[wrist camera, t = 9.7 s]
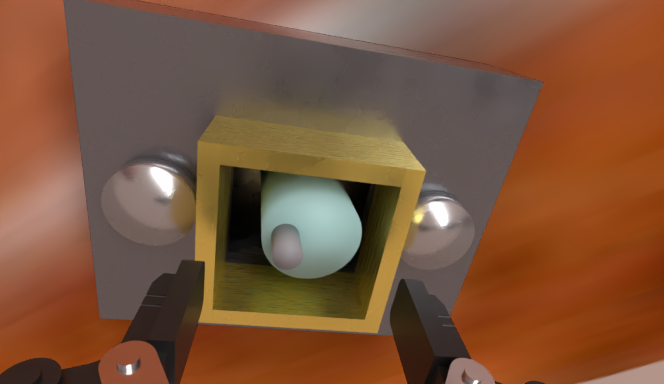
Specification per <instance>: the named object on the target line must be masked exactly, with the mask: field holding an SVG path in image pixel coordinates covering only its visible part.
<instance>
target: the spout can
mask: <svg viewBox="0 0 664 384" xmlns="http://www.w3.org/2000/svg"><path fill="white" fill-rule="evenodd" d="M260 173H261V241H262V247H263V251H264V253H265V255H266V257H267V259H268V260H269V262H270V263H271V264H272V265H273V266H274V267H275V268H276V269H278V270H279V271H281V272H282V273H284V274H287V275H289V276H292V277H296V278H304V279H312V278H319V277H323V276H326V275H329V274H332V273H334V272H336V271H337V270H339V269H341V268H342V267H343V266H345V265H346V264H347V263H348V262H349V261H350V260H351V259H352V257H353V256H354V255H355V253H356V251H357V249H358V247H359V245H360V241H361V236H362V227H361V222H360V218H359V216H358V214H357V212H356V210H355V208H354V206H353V204H352V202H351V200H350V198H349V196H348V194H347V192H346V190H345V188H344V186H343V184H342V182H341V180H339V179H331V178H323V177H315V176H307V175H299V174H291V173H283V172H275V171H266V170H260Z"/></svg>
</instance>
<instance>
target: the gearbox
mask: <svg viewBox="0 0 664 384" xmlns="http://www.w3.org/2000/svg"><path fill="white" fill-rule="evenodd" d="M63 1H64V10H65V18H66V27H67V36H68V44H69V53H70V62H71V71H72V79H73V88H74V97H75V106H76V114H77V123H78V132H79V140H80V149H81V158H82V167H83V175H84V184H85V193H86V202H87V210H88V219H89V228H90V236H91V245H92V254H93V263H94V271H95V280H96V289H97V298H98V306H99V315H100V318H104V319H121V320H133V319H134V317H135V315H136V313H137V311H138V309H139V307H140V306H141V303H142V301H143V299H144V298H145V296H146V294H147V292H148V290H149V288H150V286H151V284H152V282H153V281H155V280H156V279H157V278H158V277H159V276H161V275H162V274H163V273H171V274H176V272H177V270H178V267H179V265H180V263H181V261H182V260H183V259H184V260H195V261H204V262H205V280H204V300H203V306H202V311H201V315H200V318H199V322H198V324H204V325H220V326H237V327H253V328H270V329H287V330H303V331H320V332H336V333H353V334H369V335H386V336H393V333H392V329H391V326H390V311H391V307H392V304H393V300H394V297H395V294H396V291H397V288H398V284H399V282H400V280H401V279H413V280H421V281H422V282H423V283H424V285H425V287H426V290H427V292H428V294H429V295H435V296H436V297H437V298H438V299H439V300H440V301H441V302H442V303H443V304H444V305H445V307H446V309H447V311H448V313H449V315H451V312H452V310H453V307H454V305H455V302H456V300H457V297H458V295H459V292H460V290H461V287H462V285H463V282H464V280H465V277H466V275H467V272H468V270H469V267H470V265H471V262H472V260H473V257H474V255H475V252H476V250H477V247H478V245H479V242H480V240H481V237H482V235H483V232H484V230H485V227H486V225H487V222H488V219H489V217H490V214H491V212H492V209H493V207H494V204H495V202H496V199H497V197H498V194H499V192H500V189H501V187H502V184H503V182H504V179H505V177H506V174H507V172H508V169H509V167H510V164H511V162H512V159H513V157H514V154H515V152H516V149H517V147H518V144H519V142H520V139H521V137H522V134H523V132H524V129H525V127H526V124H527V122H528V119H529V117H530V114H531V112H532V109H533V107H534V104H535V102H536V99H537V97H538V94H539V92H540V89H541V87H542V84H543V82H542V81H539V80H536V79H532V78H529V77H526V76H523V75H520V74H516V73H513V72H510V71H507V70H504V69H501V68H497V67H494V66H491V65H488V64H485V63H479V62H474V61H468V60H463V59H457V58H452V57H446V56H441V55H435V54H430V53H424V52H419V51H413V50H408V49H402V48H397V47H391V46H386V45H380V44H375V43H369V42H364V41H358V40H353V39H347V38H342V37H336V36H331V35H325V34H320V33H314V32H309V31H303V30H298V29H292V28H287V27H281V26H276V25H270V24H265V23H259V22H254V21H248V20H243V19H237V18H232V17H226V16H221V15H215V14H210V13H204V12H198V11H193V10H187V9H182V8H176V7H171V6H165V5H160V4H154V3H149V2H143V1H138V0H63ZM260 170H266V171H275V172H283V173H291V174H299V175H307V176H315V177H323V178H331V179H339V180H341V182H342V184H343V186H344V188H345V190H346V192H347V194H348V196H349V198H350V200H351V202H352V204H353V206H354V208H355V210H356V212H357V214H358V216H359V218H360V222H361V227H362V236H361V241H360V245H359V247H358V249H357V251H356V253H355V255H354V256H353V257H352V259H351V260H350V261H349V262H348V263H347V264H346V265H345V266H343V267H342V268H341V269H339V270H337V271H336V272H334V273H332V274H329V275H326V276H323V277H319V278H312V279H304V278H296V277H292V276H289V275H287V274H284V273H282V272H281V271H279V270H278V269H276V268H275V267H274V266H273V265H272V264H271V263H270V262H269V260H268V259H267V257H266V255H265V253H264V251H263V247H262V241H261V173H260Z"/></svg>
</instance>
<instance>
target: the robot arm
mask: <svg viewBox="0 0 664 384" xmlns="http://www.w3.org/2000/svg"><path fill="white" fill-rule="evenodd" d="M204 280H205V262H204V261H195V260H184V259H183V260H182V261H181V263H180V265H179V267H178V270H177V272H176V274H171V273H163V274H162V275H161V276H159V277H158V278H157V279H156V280H155V281H153V282H152V284H151V286H150V288H149V290H148V292H147V294H146V296H145V298H144V299H143V301H142V303H141V306H140V307H139V309H138V311H137V313H136V315H135V317H134V319H133V321H132V323H131V325H130V327H129V329H128V331H127V333H126V335H125V337H124V339H123V341H122V342H121V344H119V345H117V346H115V347H113V348H112V349H110V350H109V351H108V352H107V353H106V354H105V355H104V356H103V357H102V359H101V360H99V361H96V362H93V363H90V364H86V365H81V366H77V367H72V368H67V369H62V370H61V367H60V365H59V364H58V363H57V362H56V361H54V360H52V359H48V358H35V359H30V360H26V361H23V362H20V363H18V364H16V365H14V366H12V367H10V368H9V369H7V370H6V371H4V372H3V373H2V374H1V375H0V384H180V381H181V378H182V374H183V371H184V368H185V365H186V361H187V358H188V355H189V351H190V348H191V345H192V341H193V338H194V335H195V331H196V328H197V325H198V322H199V318H200V315H201V311H202V306H203V300H204ZM390 326H391V329H392V333H393V336H394V340H395V343H396V346H397V350H398V353H399V356H400V360H401V363H402V366H403V370H404V373H405V376H406V380H407V383H408V384H501V383H498V382H496V381H494V378H493V377H492V375H491V374H490V372H489V371H488V370H487V369H486V368H485V367H484V366H483V365H481V364H480V363H478V362H476V361H474V360H472V359H471V357H470V355H469V353H468V351H467V349H466V347H465V345H464V343H463V341H462V339H461V337H460V335H459V333H458V331H457V329H456V327H454V323H453V321H452V319H451V318H450V315H449V313H448V311H447V309H446V307H445V305H444V304H443V303H442V302H441V301H440V300H439V299H438V298H437V297H436V296H435V295H429V294H428V292H427V290H426V287H425V285H424V283H423V282H422V281H421V280H413V279H401V280H400V282H399V284H398V288H397V291H396V294H395V297H394V300H393V304H392V307H391V311H390ZM525 384H545V383H542V382H538V381H529V382H527V383H525Z"/></svg>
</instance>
